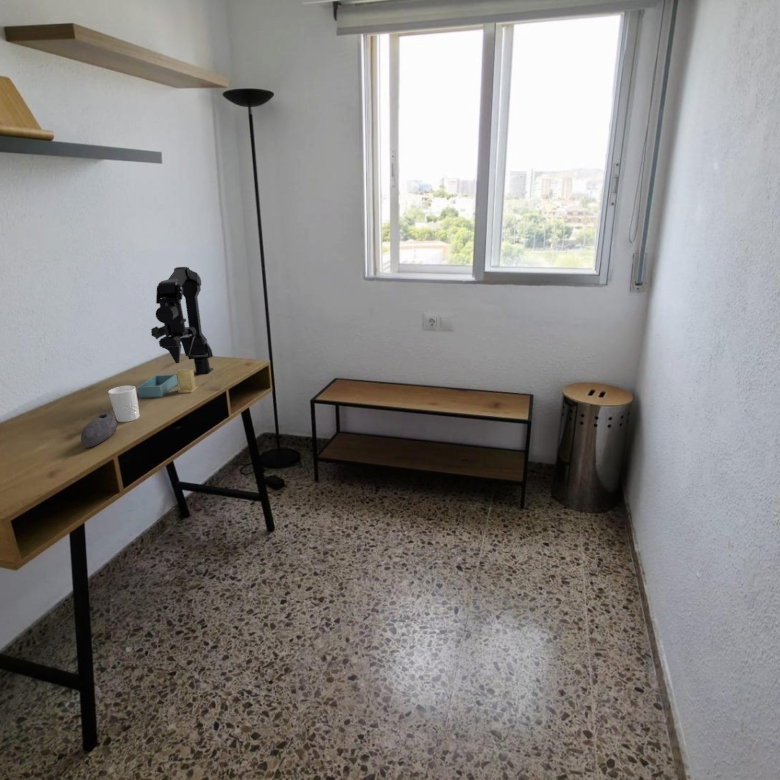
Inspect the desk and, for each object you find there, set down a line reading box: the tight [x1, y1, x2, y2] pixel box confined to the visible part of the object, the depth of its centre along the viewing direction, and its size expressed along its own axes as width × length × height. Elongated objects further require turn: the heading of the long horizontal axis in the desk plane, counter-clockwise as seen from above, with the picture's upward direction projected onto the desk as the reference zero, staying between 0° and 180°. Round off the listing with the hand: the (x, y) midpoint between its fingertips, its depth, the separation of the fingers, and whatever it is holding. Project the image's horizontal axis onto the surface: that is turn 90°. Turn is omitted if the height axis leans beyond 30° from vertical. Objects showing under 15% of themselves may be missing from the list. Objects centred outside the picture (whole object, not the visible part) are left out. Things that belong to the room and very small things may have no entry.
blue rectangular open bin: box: [137, 374, 179, 399], centre depth 196 cm, size 14×8×4 cm, turn 178°
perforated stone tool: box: [80, 410, 118, 448], centre depth 154 cm, size 15×5×7 cm, turn 174°
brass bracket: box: [176, 367, 199, 394], centre depth 195 cm, size 6×5×8 cm
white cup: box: [107, 385, 140, 423], centre depth 169 cm, size 8×8×10 cm
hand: (182, 359), depth 192 cm, fingers open, 9 cm apart
